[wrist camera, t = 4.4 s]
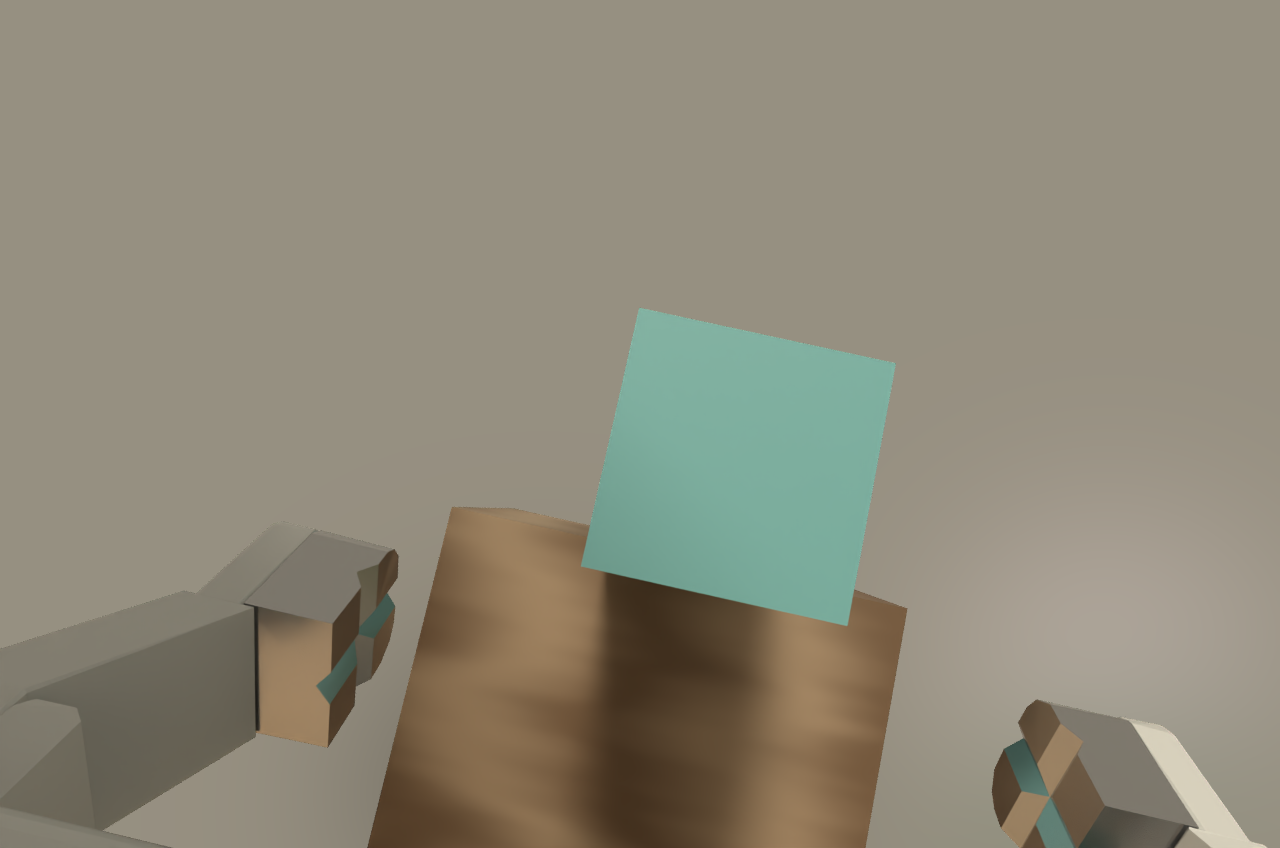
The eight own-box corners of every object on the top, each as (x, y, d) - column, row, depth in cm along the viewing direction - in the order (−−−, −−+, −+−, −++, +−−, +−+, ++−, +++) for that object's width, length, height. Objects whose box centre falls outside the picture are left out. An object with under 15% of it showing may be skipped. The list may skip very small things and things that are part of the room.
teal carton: (581, 566, 11) (639, 308, 11) (618, 529, 32) (637, 443, 33) (847, 626, 11) (895, 363, 11) (705, 548, 32) (723, 462, 33)
